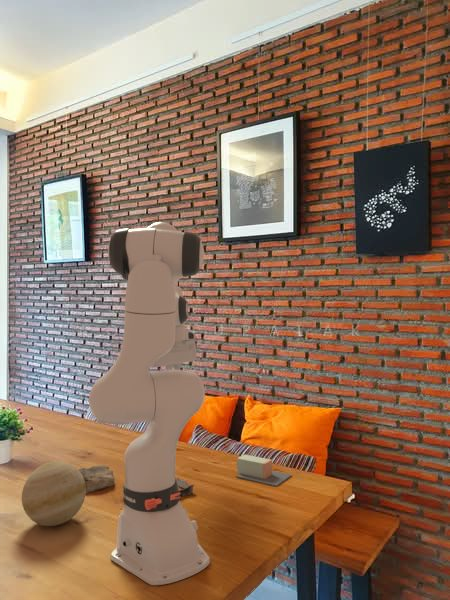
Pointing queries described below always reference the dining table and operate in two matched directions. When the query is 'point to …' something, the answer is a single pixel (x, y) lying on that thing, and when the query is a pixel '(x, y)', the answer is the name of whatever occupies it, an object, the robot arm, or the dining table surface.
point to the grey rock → (97, 478)
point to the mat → (271, 480)
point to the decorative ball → (53, 493)
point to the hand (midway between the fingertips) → (173, 378)
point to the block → (254, 466)
